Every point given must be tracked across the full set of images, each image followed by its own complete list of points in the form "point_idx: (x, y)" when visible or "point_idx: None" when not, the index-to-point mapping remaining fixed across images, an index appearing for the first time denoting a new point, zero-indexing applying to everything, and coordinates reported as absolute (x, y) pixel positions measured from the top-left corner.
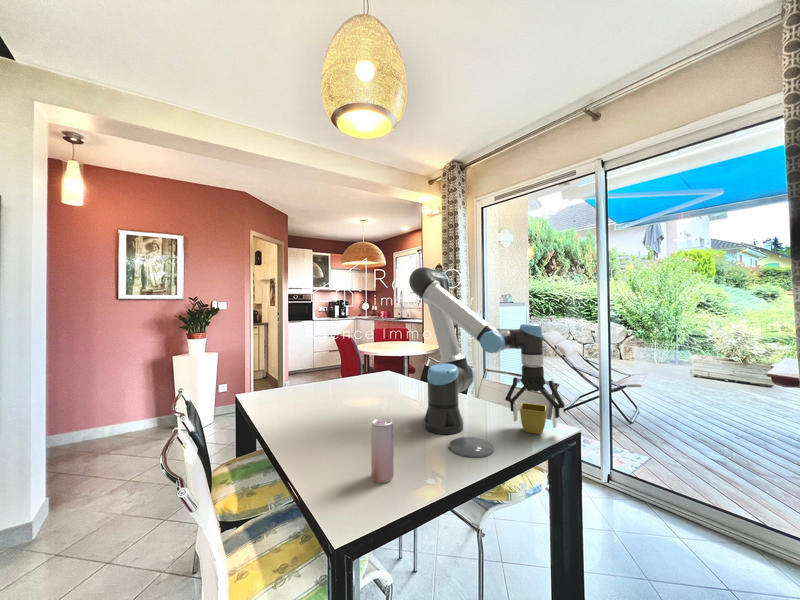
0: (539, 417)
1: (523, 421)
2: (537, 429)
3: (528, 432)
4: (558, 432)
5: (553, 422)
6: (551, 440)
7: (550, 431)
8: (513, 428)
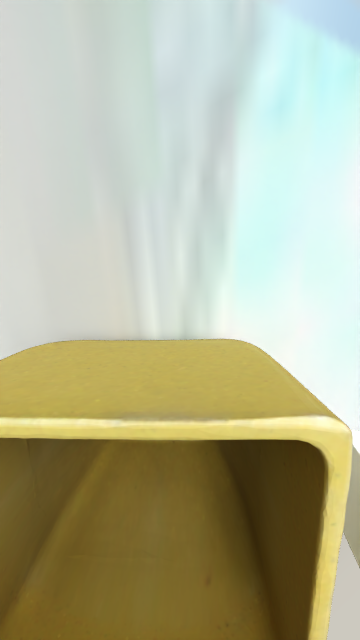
0: (215, 621)
1: (72, 542)
2: (193, 484)
3: (132, 440)
4: (348, 338)
5: (348, 532)
6: None
7: (286, 340)
8: None
